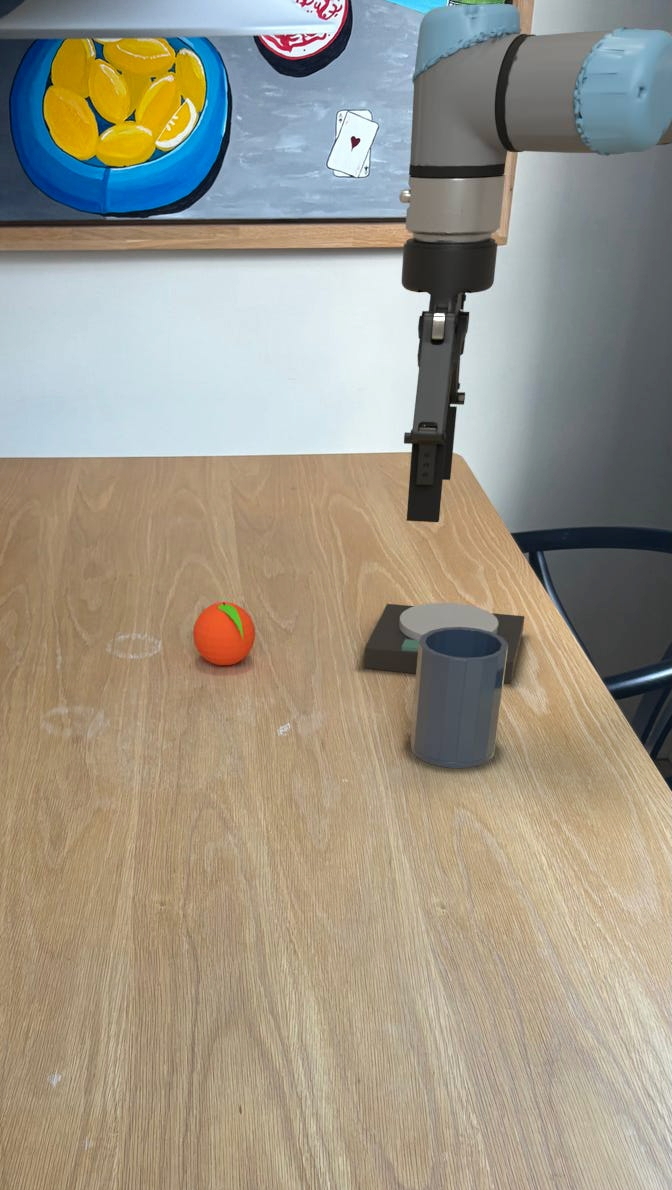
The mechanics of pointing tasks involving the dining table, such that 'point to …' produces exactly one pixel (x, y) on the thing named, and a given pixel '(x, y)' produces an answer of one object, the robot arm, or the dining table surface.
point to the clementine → (224, 633)
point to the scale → (406, 624)
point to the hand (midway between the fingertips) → (429, 498)
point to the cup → (458, 696)
